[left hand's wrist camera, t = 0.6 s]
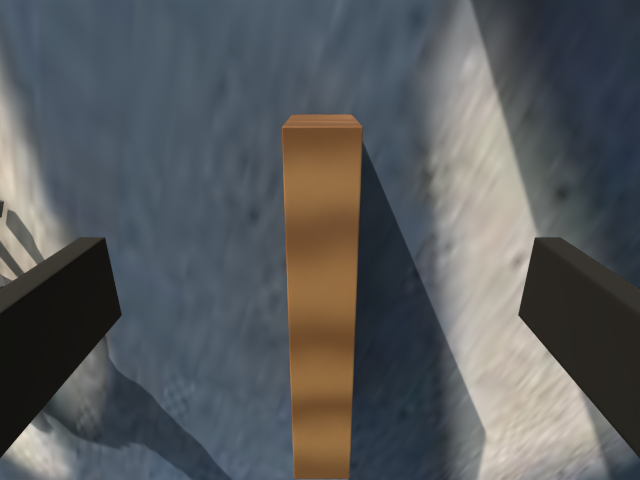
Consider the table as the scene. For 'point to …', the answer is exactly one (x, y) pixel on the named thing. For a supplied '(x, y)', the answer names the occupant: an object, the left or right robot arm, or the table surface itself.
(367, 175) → the table surface
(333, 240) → the bar
